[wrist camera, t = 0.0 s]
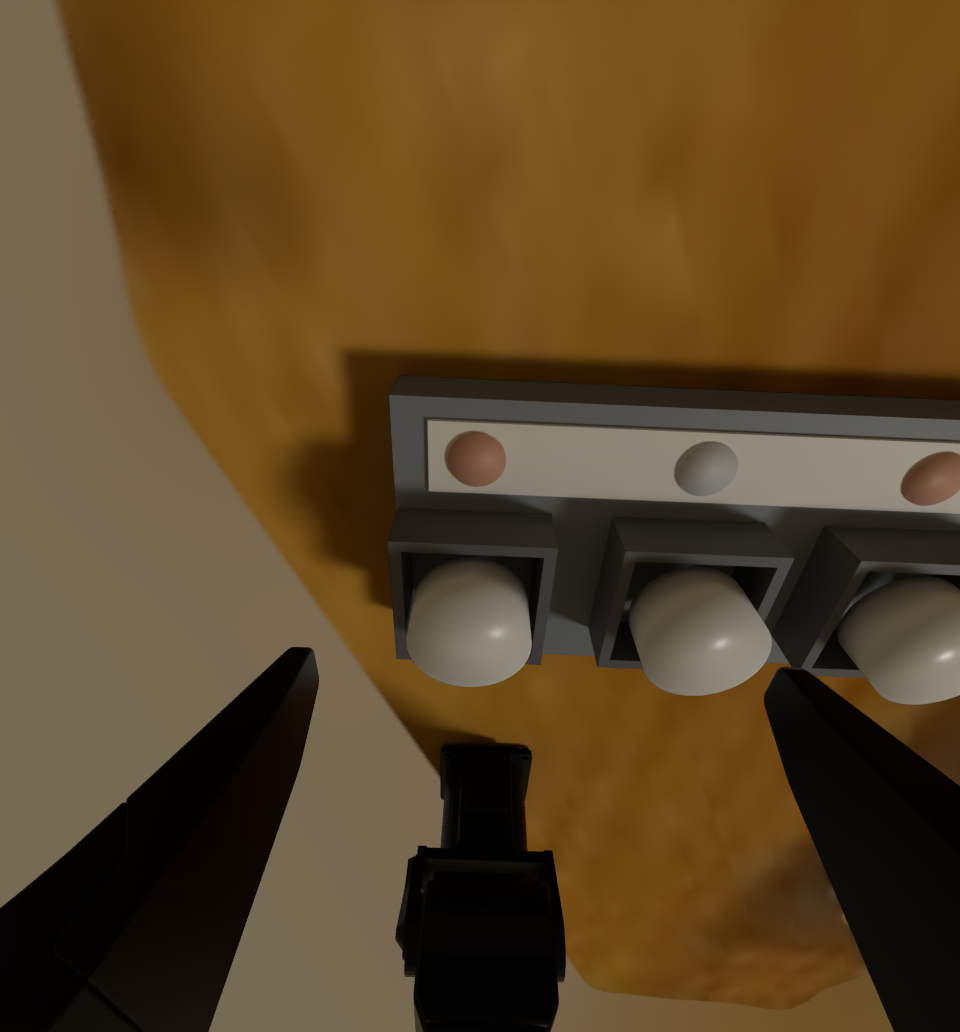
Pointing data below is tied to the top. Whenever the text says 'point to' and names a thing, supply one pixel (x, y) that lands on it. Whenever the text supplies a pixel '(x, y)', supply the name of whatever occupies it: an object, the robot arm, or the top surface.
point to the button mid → (697, 632)
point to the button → (907, 639)
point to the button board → (672, 502)
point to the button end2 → (469, 623)
